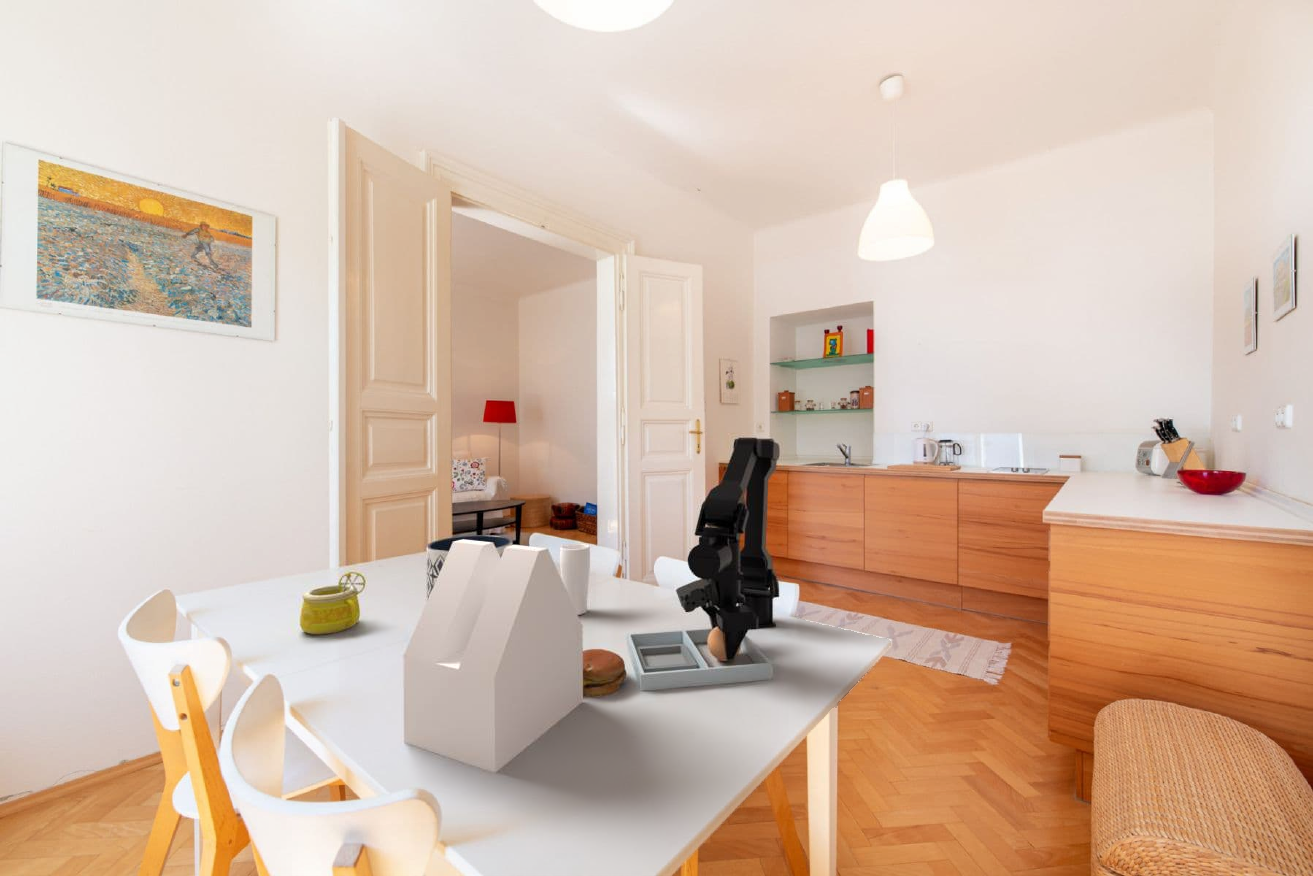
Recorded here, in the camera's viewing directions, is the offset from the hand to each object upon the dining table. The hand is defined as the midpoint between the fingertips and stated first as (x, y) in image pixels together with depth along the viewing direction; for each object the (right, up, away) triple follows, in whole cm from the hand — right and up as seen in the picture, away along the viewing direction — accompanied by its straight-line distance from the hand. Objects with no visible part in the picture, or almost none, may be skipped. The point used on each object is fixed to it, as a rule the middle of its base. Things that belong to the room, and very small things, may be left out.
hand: (724, 652), depth 97 cm
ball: (0, -1, 0) cm, 1 cm away
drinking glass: (-31, -1, +26) cm, 40 cm away
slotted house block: (-34, -2, -21) cm, 40 cm away
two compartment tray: (-5, -1, -1) cm, 6 cm away
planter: (-54, -1, +24) cm, 59 cm away
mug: (-80, -2, +16) cm, 81 cm away
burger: (-22, -2, -9) cm, 24 cm away
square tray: (-11, -1, -2) cm, 11 cm away
